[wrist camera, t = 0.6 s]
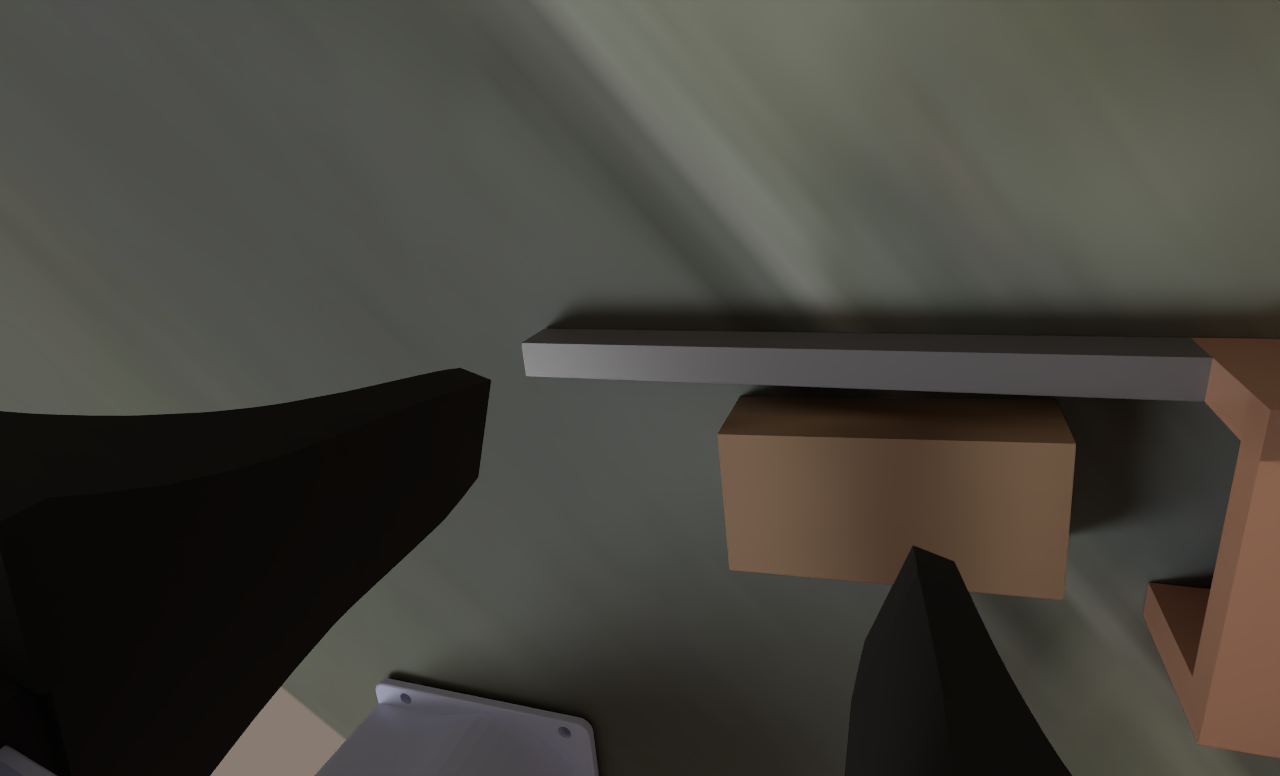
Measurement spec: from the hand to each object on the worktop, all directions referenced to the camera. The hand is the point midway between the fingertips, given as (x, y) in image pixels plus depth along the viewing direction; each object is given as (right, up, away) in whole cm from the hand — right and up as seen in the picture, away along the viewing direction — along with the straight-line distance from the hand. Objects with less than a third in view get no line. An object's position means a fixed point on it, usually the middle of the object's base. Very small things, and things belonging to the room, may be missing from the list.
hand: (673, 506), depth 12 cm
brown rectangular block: (+6, 0, +9) cm, 11 cm away
